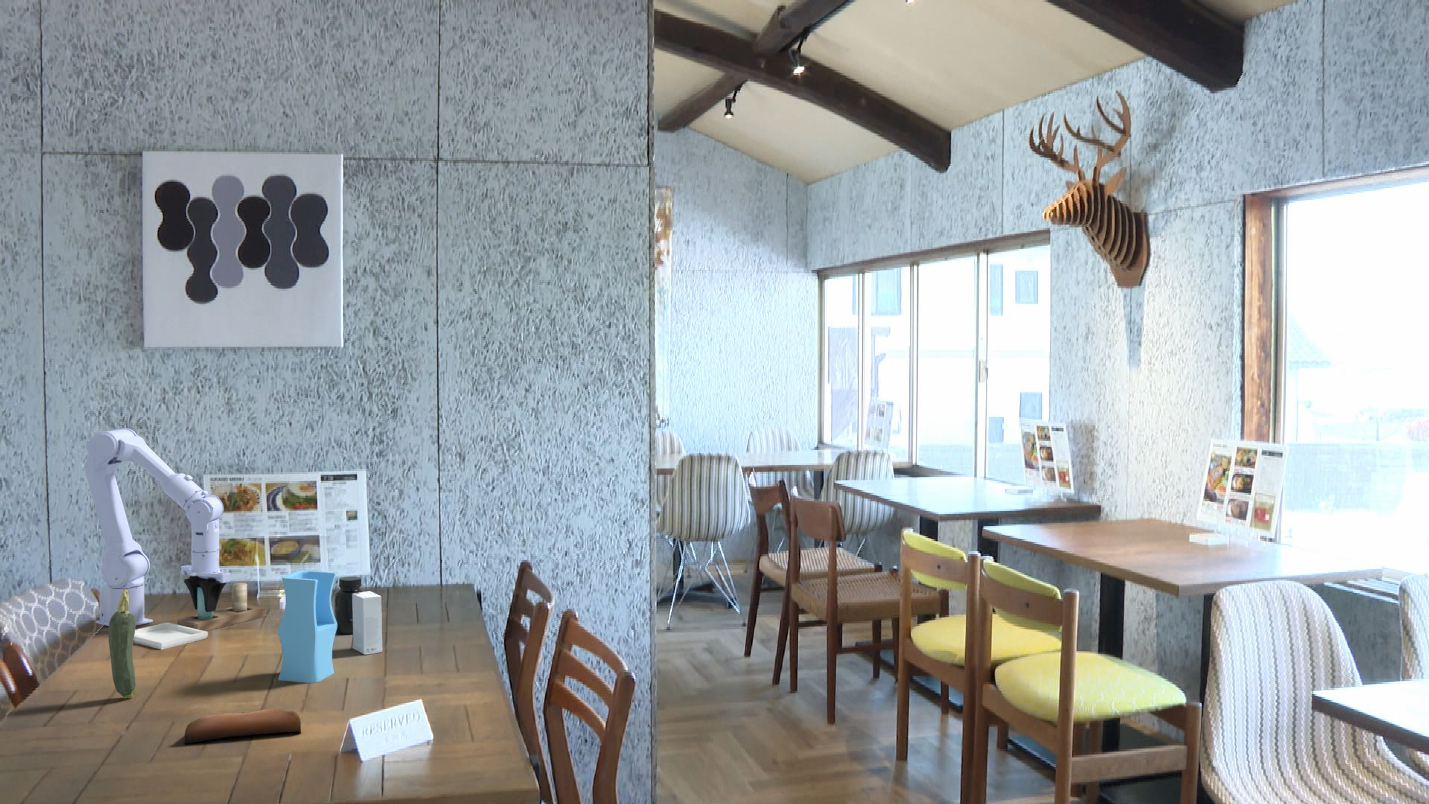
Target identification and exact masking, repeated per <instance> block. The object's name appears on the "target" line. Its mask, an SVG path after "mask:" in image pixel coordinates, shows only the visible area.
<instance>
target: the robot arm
mask: <svg viewBox="0 0 1429 804" xmlns="http://www.w3.org/2000/svg"><path fill="white" fill-rule="evenodd" d="M85 446H86V450H87V452H88V453H87V458H86V461H85V467H84V469H85V471H84V472H85V476H86V479H87V483H88V487H89V490H90V494H91V497H92V501H93V503H94V508H95V511H96V514H97V519H98V523H99V525H100V529H101V532H102V536H103V540H104V543H105V548H104V551H103V553H102V555H101V561H102V568H101V577H102V579H103V581H104V582H105V583H106V584H105V585H104V586H103V587H102V589H101V590H100V592H99V596H98V597H99V599H98V600H99V620H96V621H95V624H99V625H103V626H107V627H109V623H110V619H111V617H112V616H113V615H114V614H115V613H116V612H118V609H117V607H118V604H119V601H120V599H121V595H122V593H123V592H124V589H126V590H128V594H129V608H128V610H127V611H129V612H130V613H131V614H132V615H133V616H134V618H135V621H136V626H142V625H145V624H149V623H153V622H154V620H153V619H150V618H146V617H145V576H147V575H148V574H149V572H150V569H151V563H150V559H149V557H148V556H147V555H146V554H145V553H144V552H143V548H142V546H141V545H140V543H138V542H137V541H136V540H134V538H133V535H132V532H131V530H130V529H131V528H130V525H129V521H128V518H127V514H126V510H125V507H124V503H123V501H122V496H121V494H120V488H119V487H118V483H117V479H116V475H115V472H116V471H117V469H119V467H120V465H121V464H122V463H123V462H131V463H135V464H137V465H138V466H140V468H142V469H144V471H146V472H147V473H149V474H150V475H151V476H152V477H153V478H155V479H157V481H159V482H160V483H161V484H162V485H163V492H164V494H166V496H168V497H169V498H170V499H171V500H173V502H175V503H176V504H177V505H178V506H179V507H180V508H181V509H183V510H184V511H185V515H186V517H187V520H188V521H189V522H190V525H191V527H190V528H191V529H190V530H191V532H190V533H191V552H190V553H191V563H190V564H191V565H190V564H187V565H183V566H182V565H181V566H180V575H181V576H189V577H188V578H185V579H183V583H184V585H185V586H186V588H187V589H188V591H189V594H190V596H191V600H192V604H193V607H194V610H196V611H197V588H198V587H201V588H202V591H203V595H204V605H205V611H206V612H211V611H217V606H218V601H219V599H220V595H221V594H222V591H223V590H224V587H225V586H226V584H227V583H230V582H231V573H230V572H227V571H225V570H223V569H221V568H220V518H221V517H222V516H223V514H224V510H225V508H224V504H223V503H224V502H222V500H221V499H220V498H219V496H218V495H212V494H209V491H207V490H203V489H202V487H200V486H199V485H198V484H197V483H196V482H194V481H193V479H194V478H193V476H191V475H190V474H188V475H187V474H185V473H182V472H181V473H176V472H175V471H174V470H173V469H171V467H170V466H168V465H167V464H166V462H165V461H164V460H162V458H160V457H159V456H158V455H157V454H156V453H155V452H154V450H153V449H151V448H150V447H149V446H148V444H147V443H146V441H145V439H144V438H143V437H142V436H139V435H137V432H135V431H134V430H133V429H130V428H127V427H122V428H119V429H114V430H108V431H107V430H104V431H103V430H102V431H101V430H100V431H98V432H97V433H95V434H94V435H92V437H91V439H90V440H89V441H88V442H87V443H86V445H85Z"/></svg>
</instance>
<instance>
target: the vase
mask: <svg viewBox="0 0 1429 804" xmlns="http://www.w3.org/2000/svg"><path fill="white" fill-rule="evenodd" d="M337 574H338V573H337V572H335V571H322V570H320V571H319V570H308V569H307V570H305V569H304V570H303V569H302V570H297V571H295V572H291V573H289V574H286V575H283V576H282V577H281V580H282V585H283V589H284V595H285V596H284V597H285V605H284V612H283V616H282V618H281V622H280V624H279V627H278V630H277V631H278V632H277V634H278V638H279V641H280V647H281V652H282V653H281V654H282V659H281V660H282V661H281V668H280V672H279V675H278V679H277V680H278V681H285V682H295V683H305V684H315V683H319V682H321V681H323V680H325V679H326V678H328V677H331V676H332V675H334V674H335V670H334V665H333V645H334V641H335V637H336V634H337V633H336V630H337V621H336V619H335V616H334V609H333V605H332V593H333V588H334V585H335V584H334V583H335V581H336V577H337Z"/></svg>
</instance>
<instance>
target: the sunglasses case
mask: <svg viewBox="0 0 1429 804" xmlns="http://www.w3.org/2000/svg"><path fill="white" fill-rule="evenodd" d="M301 723H302V721H301V717H300V715H299V714H298V713H297V712H295V711H294V710H287V709H282V708H281V709H280V708H266V709H261V710H257V711H251V712H249V711H242V712H241V713H226V712H225V713H216V714H210V715H207V716H203V717H200V718H198V719H195V720H192V721H190V722H189V724H187V726H186V728H185V730H184V738H183V741H184V743H183V744H184V745H187V744H193V743H200V742H204V741H212V740H215V739H219V740H220V739H224V738H228V737H232V738H233V737H243V736H244V737H247V736H252V735H269V734H277V733H280V734H281V733H289V732H293V733H294V732H295V733H297V732H298V733H299V734H302V724H301Z"/></svg>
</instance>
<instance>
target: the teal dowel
mask: <svg viewBox="0 0 1429 804" xmlns="http://www.w3.org/2000/svg"><path fill="white" fill-rule="evenodd" d="M196 611H197V614H196V615H197V620H201V621H205V620H209V619H213V611H211V612H206V611H205V605H204V595H203V591H202V588H201V587H198V588H197V610H196Z"/></svg>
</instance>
